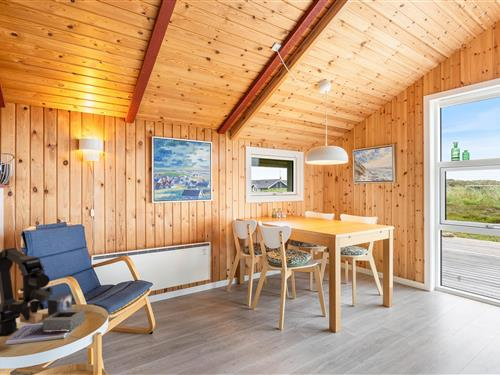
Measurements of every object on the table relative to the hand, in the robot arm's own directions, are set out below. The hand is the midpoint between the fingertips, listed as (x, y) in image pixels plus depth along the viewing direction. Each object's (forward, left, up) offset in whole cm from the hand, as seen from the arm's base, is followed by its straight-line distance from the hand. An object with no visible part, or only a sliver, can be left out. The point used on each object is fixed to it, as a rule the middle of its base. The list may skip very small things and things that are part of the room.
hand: (30, 318), depth 134 cm
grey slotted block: (+6, +15, -11) cm, 19 cm away
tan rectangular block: (0, 0, -1) cm, 1 cm away
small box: (-6, +29, -11) cm, 31 cm away
